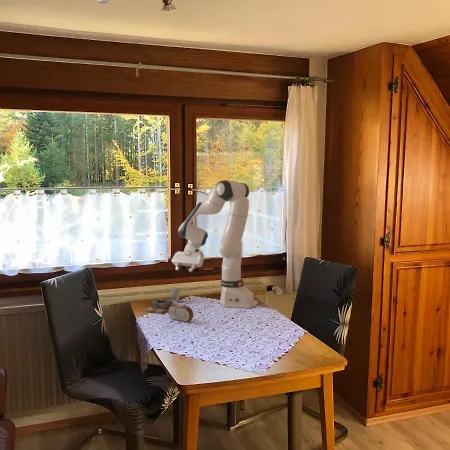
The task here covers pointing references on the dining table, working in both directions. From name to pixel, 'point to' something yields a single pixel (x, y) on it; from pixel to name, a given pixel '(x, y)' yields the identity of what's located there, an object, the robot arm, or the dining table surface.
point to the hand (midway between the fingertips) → (183, 270)
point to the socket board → (159, 306)
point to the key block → (174, 294)
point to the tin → (180, 312)
